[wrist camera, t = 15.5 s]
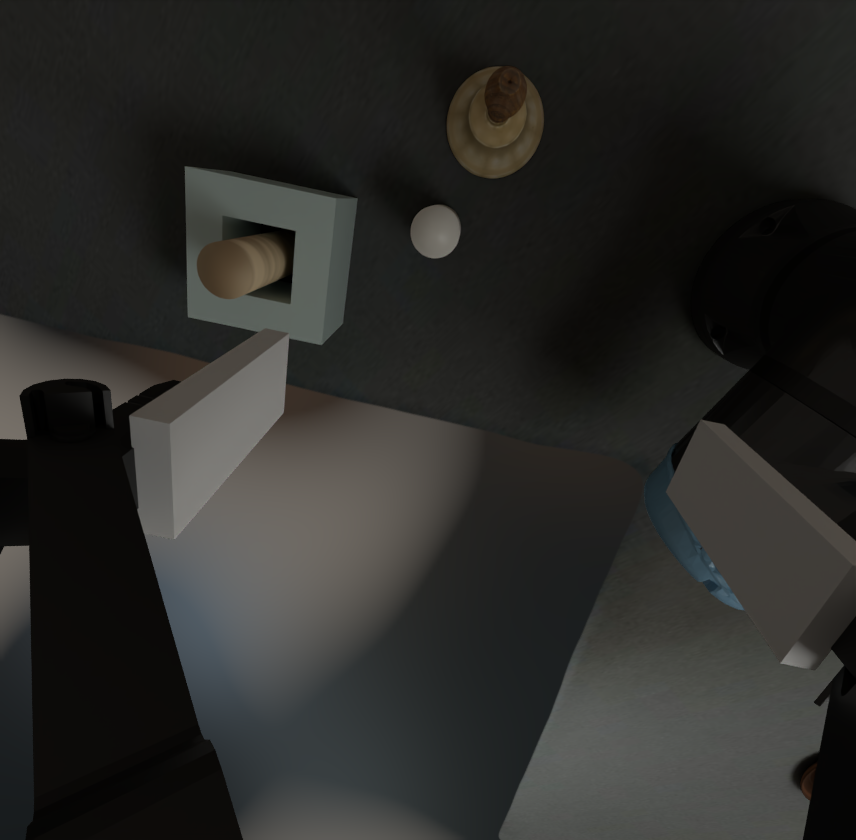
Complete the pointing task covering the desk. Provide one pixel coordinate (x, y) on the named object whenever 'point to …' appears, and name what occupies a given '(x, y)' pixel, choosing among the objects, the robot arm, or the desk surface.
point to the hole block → (313, 255)
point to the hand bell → (495, 122)
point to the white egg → (436, 231)
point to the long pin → (246, 263)
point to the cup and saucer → (808, 781)
